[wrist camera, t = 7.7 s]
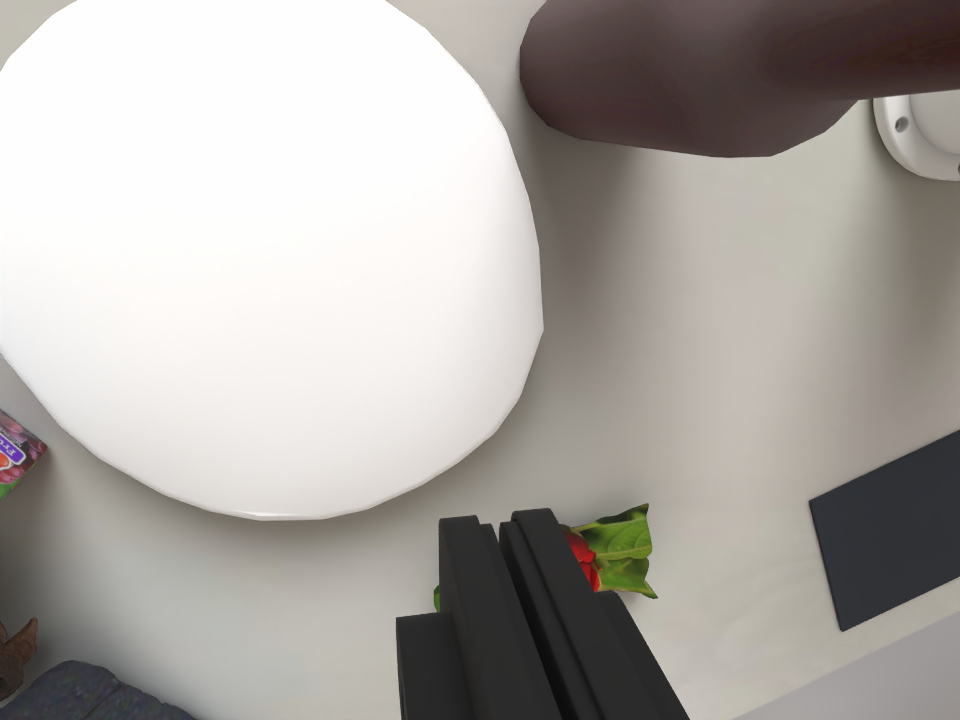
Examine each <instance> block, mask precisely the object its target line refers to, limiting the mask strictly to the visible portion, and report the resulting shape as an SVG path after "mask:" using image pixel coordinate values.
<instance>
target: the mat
mask: <svg viewBox="0 0 960 720" xmlns="http://www.w3.org/2000/svg"><path fill="white" fill-rule="evenodd" d="M809 503H810V507H811V511H812V515H813V520H814V524H815V528H816V532H817V536H818V540H819V544H820V548H821V552H822V556H823V560H824V564H825V568H826V573H827V577H828V581H829V585H830V589H831V593H832V597H833V601H834V605H835V609H836V613H837V617H838V621H839V626H840V630H841V631H842V632H844V631H846V630H848V629H850V628H852V627H854V626H856V625H859V624H861V623H863V622H865V621H867V620H869V619H871V618H873V617H875V616H878V615H880V614H882V613H884V612H886V611H888V610H890V609H892V608H894V607H896V606H899V605H901V604H903V603H905V602H907V601H909V600H911V599H913V598H915V597H918V596H920V595H922V594H924V593H926V592H928V591H930V590H932V589H934V588H937V587H939V586H941V585H943V584H945V583H947V582H949V581H951V580H953V579H955V578H958V577H960V430H959V431H957V432H955V433H953V434H951V435H949V436H946V437H944V438H942V439H940V440H938V441H936V442H934V443H932V444H929V445H927V446H925V447H923V448H921V449H919V450H917V451H915V452H912V453H910V454H908V455H906V456H904V457H902V458H900V459H898V460H895V461H893V462H891V463H889V464H887V465H885V466H883V467H881V468H878V469H876V470H874V471H872V472H870V473H868V474H866V475H864V476H861V477H859V478H857V479H855V480H853V481H851V482H849V483H847V484H844V485H842V486H840V487H838V488H836V489H834V490H832V491H830V492H827V493H825V494H823V495H821V496H819V497H817V498H815V499H813V500H810V501H809Z"/></svg>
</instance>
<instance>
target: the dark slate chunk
mask: <svg viewBox="0 0 960 720" xmlns="http://www.w3.org/2000/svg"><path fill="white" fill-rule="evenodd" d="M0 720H197V719H195V718H193V717H192V716H190V715H189V714H188V713H187V712H185V711H184V710H182V709H180V708H178V707H175V706H171V705H169V704H167V703H164V704H161V703H160V702H159V700H158V699H156V698H155V697H153V696H151V695H148V694H146V693H143V692H142V691H141V690H139V689H137V688H134V687H132V686H129V685H126V684H124V683H122V682H120V681H119V680H118V679H117V678H116V677H115V675H114V674H112V673H111V672H110V671H108V670H107V669H105V668H103V667H100V666H93V665H90V664H88V663H85V662H80V661H76V660H69V661H65V662H62V663H60V664H59V665H57V666H55V667H54V668H52V669H50V670H48V671H47V672H45V673H44V674H43V675H41V676H40V677H39V678H38V679H36V680H35V681H34V682H33V683H32V684H31V685H30V686H29V687H28V688H27V689H26V690H25V691H23V692H22V693H21V694H19V695H18V696H17V697H16V698H15V699H14V700H12V701H11V702H10V703H8V704H7V705H6V706H4V707H3V708H1V709H0Z"/></svg>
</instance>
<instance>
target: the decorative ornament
mask: <svg viewBox="0 0 960 720" xmlns="http://www.w3.org/2000/svg"><path fill="white" fill-rule="evenodd" d="M648 507H649V504H648V503H647V504H643V505H640V506H638V507H634V508H631V509H629V510H627V511H625V512H623V513H621V514H619V515H616V516H610V517H603V518H600V519H598V520H596V521H595V522H593V523H590V524H587V525H583V526H579V527H573V529H572V528H570V527H569V526H566V525H563V524H559V525H560V527H561V529H562V531H563V533H564V535H565V537H566V539H567V541H568V543H569V544H570V546H571V548H572V550H573V552H574V554H575V556H576V558H577V560H578V562H579V564H580V566H581V567H582V569H583V571H584V573H585V575H586V577H587V579H588V581H589V583H590V585H591V587H592V588H593V590H594V592H596V591H602V590H617V591H621V592H625V591H631V592H637V593H641V594H643V595H645V596H647V597H649V598H652V599H656V598H658V597H657V595H656V594H655V593H654V591H653V590H652V589H651V587H650V586H649V584H648V583H647V582H646V581H645V580H644V579H645V577H646V574H647V571H648V568H649V560H648V559H647V558H646V557H647V556H648V555H649V554H650V553H651V552H652V543H651V537H650V533H649V528H648V524H647V516H646V514H647V511H648ZM434 605H435V607H436V610H437V612H440V603H439V585H438V586H437V587H436V588H435V590H434Z"/></svg>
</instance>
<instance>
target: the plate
mask: <svg viewBox="0 0 960 720" xmlns="http://www.w3.org/2000/svg"><path fill="white" fill-rule="evenodd" d="M543 330H544V326H543V309H542V292H541V274H540V257H539V246H538V240H537V235H536V230H535V225H534V220H533V215H532V210H531V205H530V200H529V197H528V194H527V191H526V188H525V185H524V182H523V179H522V177H521V174H520V171H519V168H518V165H517V162H516V159H515V156H514V154H513V151H512V148H511V145H510V142H509V139H508V136H507V133H506V131H505V128H504V126H503V124H502V123H501V121H500V119H499V118H498V116H497V115H496V113H495V111H494V110H493V108H492V106H491V105H490V103H489V101H488V100H487V98H486V96H485V95H484V93H483V91H482V90H481V88H480V87H479V85H478V83H477V82H476V81H475V80H474V79H473V78H472V77H471V76H470V75H469V74H468V73H467V72H466V71H465V69H464V68H463V67H462V66H461V65H460V64H459V63H458V62H457V61H456V60H455V59H454V58H453V57H452V56H451V55H450V54H449V53H448V52H447V51H446V49H445V48H444V47H443V46H442V45H441V44H440V43H439V42H438V41H437V40H436V39H435V38H434V37H433V36H432V35H431V34H430V33H429V32H428V30H427V29H425V28H424V27H422V26H421V25H419V24H418V23H416V22H415V21H414V20H412V19H411V18H409V17H408V16H406V15H405V14H403V13H402V12H400V11H399V10H398V9H396V8H395V7H393V6H392V5H390V4H389V3H387V2H386V1H384V0H77V1H76V2H74V3H72V4H70V5H69V6H67V7H65V8H64V9H62V10H60V11H58V12H57V13H55V14H53V15H52V16H51V17H50V18H49V19H48V20H47V21H46V22H45V23H44V24H43V25H42V26H41V27H40V28H39V29H38V30H37V31H36V32H35V33H34V34H33V35H32V36H31V37H30V38H29V39H28V40H27V41H25V42H24V43H23V44H22V45H21V46H20V47H19V48H18V49H17V50H16V51H15V52H14V53H13V54H12V55H11V56H10V57H9V59H8V60H7V62H6V64H5V65H4V67H3V69H2V70H1V72H0V353H1V354H2V356H3V357H4V358H5V360H6V361H7V362H8V363H9V364H10V366H11V367H12V368H13V369H14V371H15V372H16V373H17V374H18V375H19V377H20V378H21V379H22V380H23V382H24V383H25V384H26V385H27V386H28V388H29V389H30V390H31V391H32V393H33V394H34V395H35V396H36V397H37V399H38V400H39V401H40V402H41V404H42V405H43V406H44V407H45V408H46V410H47V411H48V412H49V413H50V414H51V416H52V417H53V418H54V419H55V421H56V422H57V423H58V424H59V425H60V427H62V428H63V429H64V430H65V431H66V432H68V433H69V434H70V435H71V436H72V437H74V438H75V439H76V440H77V441H78V442H80V443H81V444H82V445H83V446H84V447H86V448H87V449H88V450H89V451H90V452H92V453H93V454H94V455H95V456H96V457H98V458H99V459H100V460H102V461H104V462H106V463H108V464H109V465H111V466H113V467H115V468H116V469H118V470H120V471H122V472H123V473H125V474H127V475H129V476H131V477H132V478H134V479H136V480H138V481H139V482H141V483H143V484H145V485H147V486H148V487H150V488H152V489H154V490H155V491H157V492H159V493H161V494H163V495H165V496H168V497H171V498H174V499H177V500H179V501H182V502H185V503H188V504H190V505H193V506H196V507H199V508H201V509H204V510H207V511H210V512H216V513H221V514H226V515H231V516H237V517H242V518H247V519H253V520H258V521H280V520H318V519H327V518H331V517H336V516H341V515H345V514H350V513H354V512H359V511H363V510H367V509H369V508H372V507H374V506H376V505H379V504H381V503H383V502H385V501H388V500H390V499H392V498H394V497H397V496H399V495H401V494H403V493H406V492H408V491H410V490H413V489H415V488H417V487H419V486H421V485H423V484H425V483H426V482H428V481H429V480H431V479H433V478H434V477H436V476H438V475H439V474H441V473H443V472H444V471H446V470H448V469H449V468H451V467H452V466H454V465H456V464H457V463H459V462H460V461H461V460H462V459H463V458H465V457H466V456H467V455H468V454H470V453H471V452H472V451H473V450H475V449H476V448H477V447H478V446H480V445H481V444H482V443H483V442H484V441H486V440H487V439H488V438H489V437H491V436H492V435H493V434H494V433H495V432H496V431H497V430H498V428H499V427H500V425H501V424H502V423H503V421H504V420H505V418H506V417H507V415H508V414H509V413H510V411H511V410H512V408H513V407H514V406H515V404H516V403H517V401H518V400H519V398H520V397H521V394H522V391H523V388H524V385H525V382H526V379H527V376H528V374H529V371H530V368H531V365H532V362H533V359H534V356H535V353H536V351H537V348H538V345H539V342H540V339H541V336H542V333H543Z"/></svg>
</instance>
